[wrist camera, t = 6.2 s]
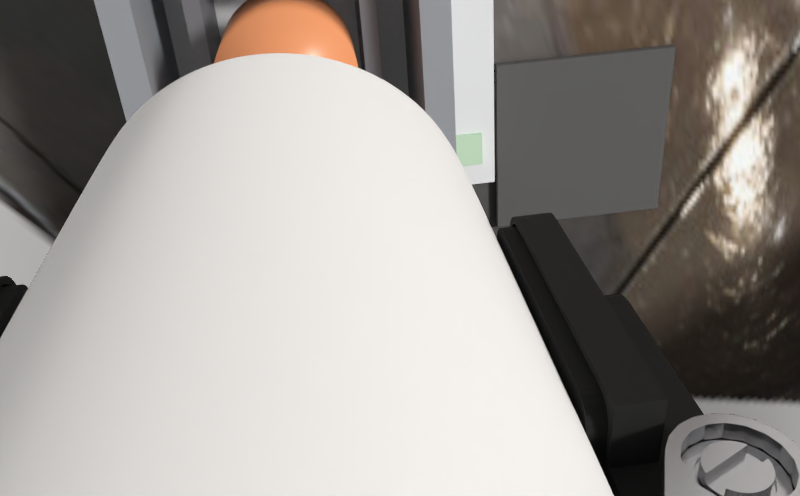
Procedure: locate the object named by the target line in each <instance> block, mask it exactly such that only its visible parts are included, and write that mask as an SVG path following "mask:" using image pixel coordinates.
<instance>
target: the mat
mask: <svg viewBox="0 0 800 496" xmlns="http://www.w3.org/2000/svg"><path fill="white" fill-rule="evenodd" d="M675 48H676V47H675V46H673V45H667V46H658V47H648V48H639V49H629V50H620V51H610V52H601V53H591V54H582V55H572V56H563V57H553V58H544V59H534V60H525V61H515V62H506V63H496V64H495V107H496V224H497V226H498V227H501V226H509V225H510V221H511V218H512V217H515V216H524V215H532V214H541V213H552V214H553V215H554V216H555V218H556V220H560V219H568V218H577V217H585V216H593V215H602V214H610V213H618V212H627V211H635V210H644V209H652V208H657V205H658V197H659V188H660V179H661V170H662V162H663V153H664V144H665V136H666V127H667V118H668V109H669V101H670V92H671V83H672V74H673V66H674V57H675Z"/></svg>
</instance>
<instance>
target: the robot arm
mask: <svg viewBox="0 0 800 496" xmlns="http://www.w3.org/2000/svg"><path fill="white" fill-rule="evenodd" d="M497 240H498V243H499V245H500V247H501V249H502V251H503V253H504V255H505V258H506V260H507V262H508V264H509V266H510V269H511V271H512V273H513V275H514V277H515V279H516V282H517V284H518V286H519V288H520V290H521V293H522V295H523V297H524V299H525V301H526V303H527V306H528V308H529V310H530V312H531V314H532V317H533V319H534V321H535V323H536V325H537V327H538V330H539V332H540V334H541V336H542V338H543V341H544V343H545V345H546V347H547V349H548V352H549V354H550V356H551V358H552V360H553V363H554V365H555V367H556V369H557V371H558V374H559V376H560V378H561V380H562V382H563V385H564V387H565V389H566V391H567V393H568V396H569V398H570V400H571V402H572V404H573V406H574V409H575V411H576V413H577V415H578V417H579V420H580V422H581V424H582V426H583V428H584V431H585V433H586V435H587V437H588V439H589V442H590V444H591V446H592V448H593V450H594V453H595V455H596V457H597V459H598V462H599V464H600V466H601V468H602V470H603V473H604V475H605V477H606V479H607V481H608V484H609V486H610V488H611V490H612V493H613V495H614V496H800V447H799V446H798V445H797V444H796V443H795V442H794V441H793V440H791V439H790V438H789V437H787V436H786V435H784V434H783V433H782V432H780V431H779V430H777V429H775V428H773V427H771V426H769V425H767V424H764V423H762V422H760V421H758V420H755V419H751V418H747V417H743V416H739V415H735V414H716V413H715V414H714V413H712V414H706V415H704V414H703V413H702V411H701V410H700V408H699V407H698V405H697V404H696V402H695V401H694V399H693V398H692V396H691V395H690V393H689V392H688V390H687V389H686V387H685V385H684V384H683V382H682V381H681V379H680V378H679V376H678V375H677V373H676V372H675V370H674V369H673V367H672V366H671V364H670V363H669V361H668V360H667V358H666V357H665V355H664V354H663V352H662V351H661V349H660V348H659V346H658V345H657V343H656V342H655V340H654V339H653V337H652V336H651V334H650V333H649V331H648V330H647V328H646V327H645V325H644V324H643V322H642V321H641V319H640V318H639V316H638V315H637V313H636V312H635V310H634V309H633V307H632V306H631V304H630V303H629V301H628V300H627V299H626V298H625V297H624V296H623V295H620V294H613V295H605V296H604V295H603V293H602V292H601V290H600V289H599V287H598V285H597V284H596V282H595V281H594V279H593V277H592V276H591V274H590V273H589V271H588V269H587V268H586V266H585V265H584V263H583V261H582V260H581V258H580V257H579V255H578V253H577V252H576V250H575V249H574V247H573V245H572V244H571V242H570V240H569V239H568V237H567V236H566V234H565V232H564V231H563V229H562V228H561V226H560V224H559V223H558V221H557V220H556V218H555V216H554V215H553V214H552V213H541V214H532V215H524V216H515V217H512V218H511V221H510V227H507V228H499V230H498V234H497ZM27 289H28V288H27V286H25V285H16V284H15V282H14V281H13V280H12V279H11V278H10V277H8V276H2V277H0V338H1V336H2V334H3V332H4V331H5V329H6V327H7V325H8V323H9V322H10V320H11V318H12V316H13V314H14V313H15V311H16V309H17V307H18V306H19V304H20V302H21V300H22V298H23V297H24V295H25V293H26V291H27Z"/></svg>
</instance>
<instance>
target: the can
mask: <svg viewBox="0 0 800 496" xmlns="http://www.w3.org/2000/svg"><path fill="white" fill-rule="evenodd" d="M0 496H614V495H613V493H612V490H611V488H610V486H609V484H608V481H607V479H606V477H605V475H604V473H603V470H602V468H601V466H600V464H599V462H598V459H597V457H596V455H595V453H594V450H593V448H592V446H591V444H590V442H589V439H588V437H587V435H586V433H585V431H584V428H583V426H582V424H581V422H580V420H579V417H578V415H577V413H576V411H575V409H574V406H573V404H572V402H571V400H570V398H569V396H568V393H567V391H566V389H565V387H564V385H563V382H562V380H561V378H560V376H559V374H558V371H557V369H556V367H555V365H554V363H553V360H552V358H551V356H550V354H549V352H548V349H547V347H546V345H545V343H544V341H543V338H542V336H541V334H540V332H539V330H538V327H537V325H536V323H535V321H534V319H533V317H532V314H531V312H530V310H529V308H528V306H527V303H526V301H525V299H524V297H523V295H522V293H521V290H520V288H519V286H518V284H517V282H516V279H515V277H514V275H513V273H512V271H511V269H510V266H509V264H508V262H507V260H506V258H505V255H504V253H503V251H502V249H501V247H500V245H499V243H498V240H497V238H496V236H495V234H494V232H493V230H492V227H491V225H490V223H489V221H488V219H487V217H486V215H485V212H484V210H483V208H482V206H481V204H480V202H479V199H478V197H477V195H476V193H475V191H474V189H473V187H472V185H471V183H470V181H469V179H468V176H467V174H466V172H465V170H464V168H463V166H462V164H461V162H460V160H459V158H458V157H457V155H456V153H455V151H454V149H453V147H452V146H451V144H450V143H449V141H448V140H447V138H446V137H445V135H444V134H443V132H442V131H441V130H440V128H439V127H438V126H437V124H436V123H435V122H434V121H433V120H432V119H431V117H430V116H429V115H428V114H427V113H426V112H425V111H424V110H423V109H422V108H421V107H420V106H419V105H418V104H417V103H415V102H414V101H413V100H412V99H411V98H410V97H408V96H407V95H406V94H404V93H403V92H402V91H400V90H399V89H397V88H396V87H394V86H393V85H391V84H390V83H388V82H386V81H385V80H383V79H381V78H379V77H377V76H375V75H373V74H371V73H369V72H367V71H364V70H362V69H360V68H357V67H354V66H352V65H349V64H346V63H343V62H339V61H336V60H332V59H328V58H323V57H318V56H312V55H304V54H292V53H267V54H255V55H248V56H242V57H236V58H232V59H228V60H224V61H220V62H217V63H214V64H211V65H208V66H205V67H203V68H200V69H198V70H195V71H193V72H191V73H189V74H187V75H185V76H183V77H181V78H179V79H177V80H176V81H174V82H172V83H171V84H169V85H168V86H166V87H165V88H163V89H162V90H160V91H159V92H158V93H156V94H155V95H154V96H152V97H151V98H150V99H149V100H148V101H147V102H145V103H144V104H143V105H142V106H141V107H140V108H139V109H138V110H137V111H136V112H135V113H134V114H133V115H132V117H131V118H130V119H129V120H128V121H127V122H126V124H125V125H124V126H123V127H122V129H121V130H120V131H119V133H118V134H117V136H116V137H115V138H114V140H113V141H112V143H111V145H110V146H109V148H108V149H107V151H106V153H105V154H104V156H103V158H102V159H101V161H100V163H99V164H98V166H97V168H96V170H95V171H94V173H93V175H92V176H91V178H90V180H89V182H88V183H87V185H86V187H85V188H84V190H83V192H82V194H81V195H80V197H79V199H78V201H77V203H76V204H75V206H74V208H73V210H72V211H71V213H70V215H69V217H68V218H67V220H66V222H65V224H64V225H63V227H62V229H61V231H60V233H59V234H58V236H57V238H56V240H55V241H54V243H53V245H52V247H51V248H50V250H49V252H48V254H47V256H46V258H45V259H44V261H43V263H42V265H41V267H40V268H39V270H38V272H37V274H36V275H35V277H34V279H33V281H32V282H31V284H30V286H29V288H28V289H27V291H26V293H25V295H24V297H23V298H22V300H21V302H20V304H19V306H18V307H17V309H16V311H15V313H14V314H13V316H12V318H11V320H10V322H9V323H8V325H7V327H6V329H5V331H4V332H3V334H2V336H1V338H0Z"/></svg>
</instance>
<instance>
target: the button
mask: <svg viewBox="0 0 800 496" xmlns="http://www.w3.org/2000/svg"><path fill="white" fill-rule="evenodd" d="M267 53H292V54H304V55H312V56H318V57H323V58H328V59H332V60H336V61H339V62H343V63H346V64H349V65H352V66H354V67H357V68H358V64H357V59H356V55H355V51H354V46H353V42H352V39H351V35H350V32H349V30H348V28H347V26H346V24H345V22H344V21H343V19H342V18H341V16H340V15H339V14H338V13H337V12H336V10H335V9H333V8H332V7H331V6H330V5H329V4H328V3H326V2H325V1H324V0H247V1H245V2H244V3H243V4H242V5H241V6H240V7H238V9H237V10H236V11H235V12H234V13H233V15H232V16H231V18H230V19H229V21H228V23H227V25H226V27H225V30H224V33H223V36H222V39H221V42H220V45H219V48H218V51H217V54H216V58H215V61H214V63H217V62H220V61H224V60H228V59H232V58H236V57H242V56H248V55H255V54H267Z"/></svg>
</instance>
